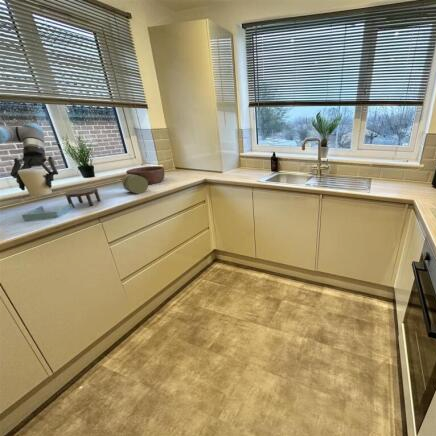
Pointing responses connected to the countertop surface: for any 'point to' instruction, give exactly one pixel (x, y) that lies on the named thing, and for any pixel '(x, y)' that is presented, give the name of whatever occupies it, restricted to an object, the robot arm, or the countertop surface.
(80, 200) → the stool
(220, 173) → the countertop surface
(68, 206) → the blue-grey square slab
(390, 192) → the countertop surface
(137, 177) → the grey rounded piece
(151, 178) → the wooden bowl
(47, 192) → the coffee cup
